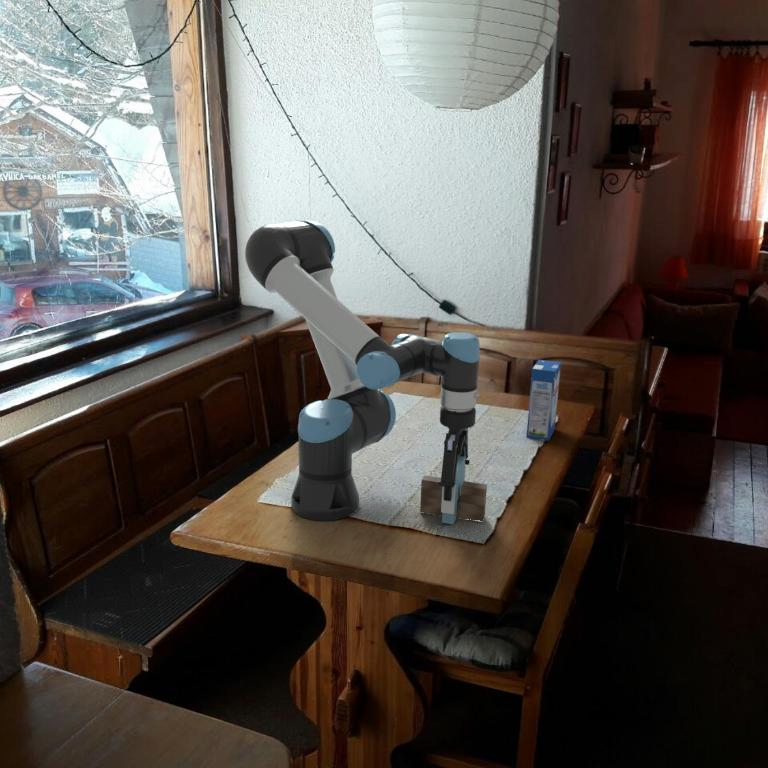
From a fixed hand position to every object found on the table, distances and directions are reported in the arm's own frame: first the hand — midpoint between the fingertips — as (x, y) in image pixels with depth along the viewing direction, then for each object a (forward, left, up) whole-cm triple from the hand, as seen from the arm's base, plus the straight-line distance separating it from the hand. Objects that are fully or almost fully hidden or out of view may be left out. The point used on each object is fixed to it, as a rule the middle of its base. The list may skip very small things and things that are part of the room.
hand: (452, 502), depth 176 cm
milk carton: (+13, +58, -3) cm, 60 cm away
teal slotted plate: (0, 0, -3) cm, 3 cm away
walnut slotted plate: (0, 0, -3) cm, 3 cm away
